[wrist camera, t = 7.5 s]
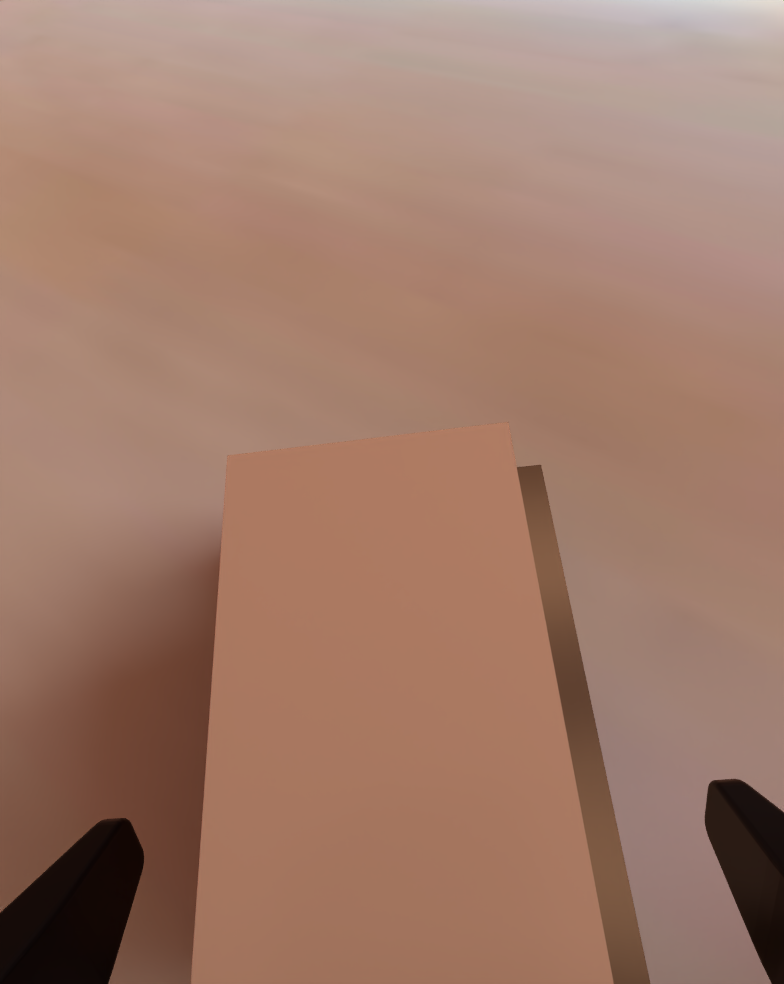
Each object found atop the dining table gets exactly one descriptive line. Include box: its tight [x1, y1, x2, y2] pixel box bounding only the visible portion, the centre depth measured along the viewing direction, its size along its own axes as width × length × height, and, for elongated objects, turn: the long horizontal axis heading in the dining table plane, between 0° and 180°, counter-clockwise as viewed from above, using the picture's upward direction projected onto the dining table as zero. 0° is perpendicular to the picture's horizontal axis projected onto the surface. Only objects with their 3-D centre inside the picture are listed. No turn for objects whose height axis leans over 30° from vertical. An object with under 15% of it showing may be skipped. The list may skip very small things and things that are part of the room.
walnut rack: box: [517, 465, 650, 984], centre depth 15 cm, size 13×9×4 cm
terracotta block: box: [191, 422, 614, 984], centre depth 11 cm, size 8×4×10 cm, turn 4°
